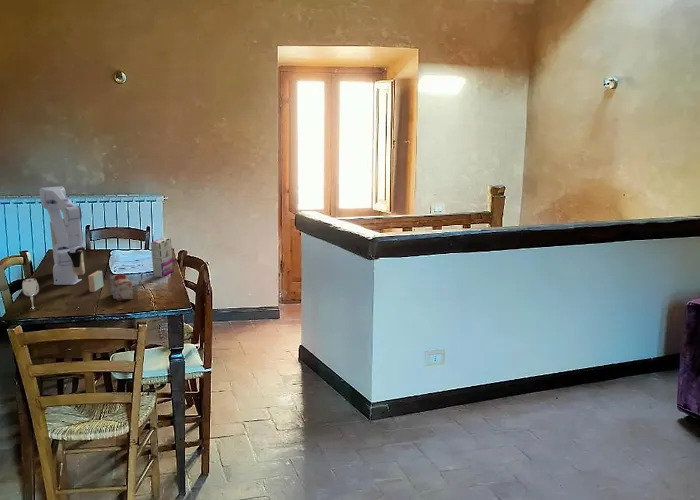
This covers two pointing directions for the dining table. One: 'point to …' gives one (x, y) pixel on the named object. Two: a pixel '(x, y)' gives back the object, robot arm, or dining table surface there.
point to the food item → (120, 287)
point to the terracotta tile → (95, 281)
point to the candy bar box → (162, 257)
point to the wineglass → (30, 288)
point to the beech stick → (80, 269)
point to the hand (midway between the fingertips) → (78, 266)
